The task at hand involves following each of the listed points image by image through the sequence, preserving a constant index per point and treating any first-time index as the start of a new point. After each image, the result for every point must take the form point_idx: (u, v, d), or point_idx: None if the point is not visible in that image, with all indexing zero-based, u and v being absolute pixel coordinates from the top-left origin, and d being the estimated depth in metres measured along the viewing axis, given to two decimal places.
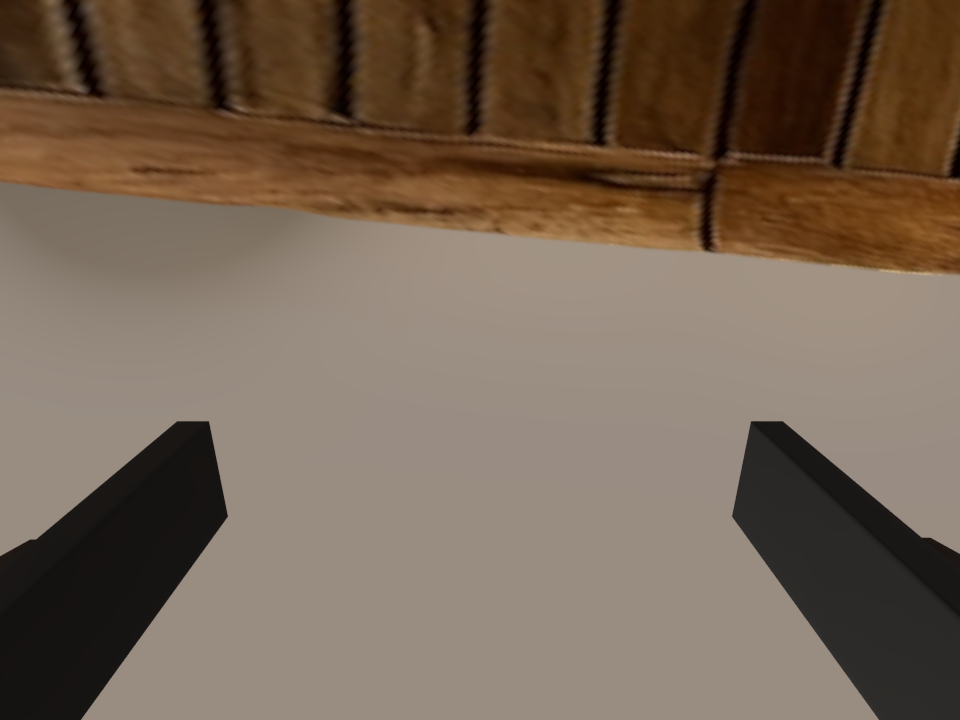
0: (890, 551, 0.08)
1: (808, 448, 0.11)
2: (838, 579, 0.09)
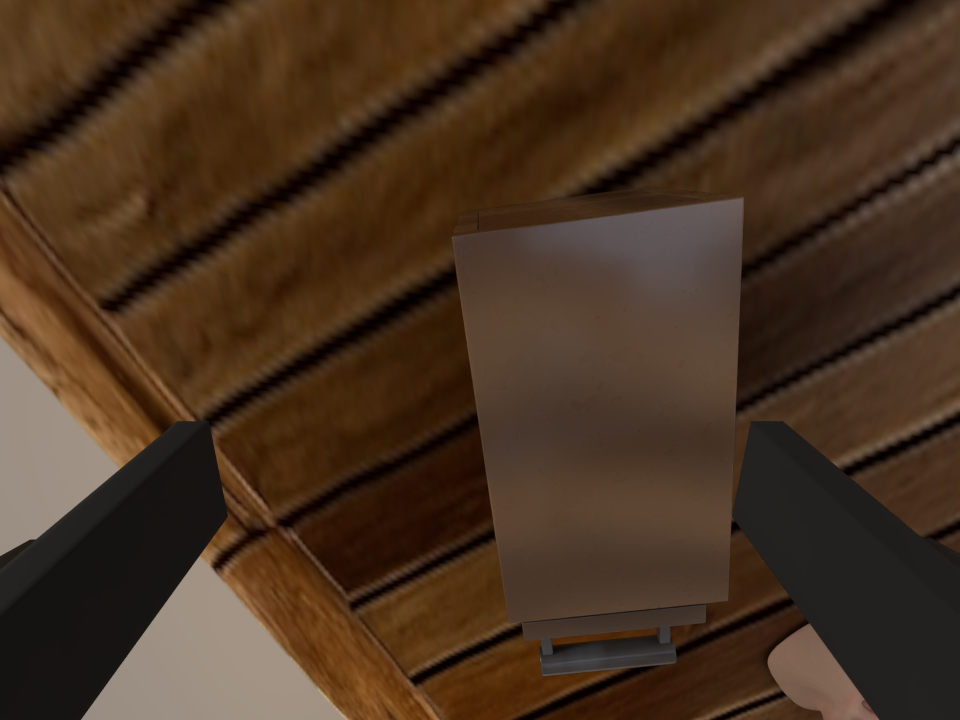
0: (890, 551, 0.08)
1: (808, 448, 0.11)
2: (838, 579, 0.09)
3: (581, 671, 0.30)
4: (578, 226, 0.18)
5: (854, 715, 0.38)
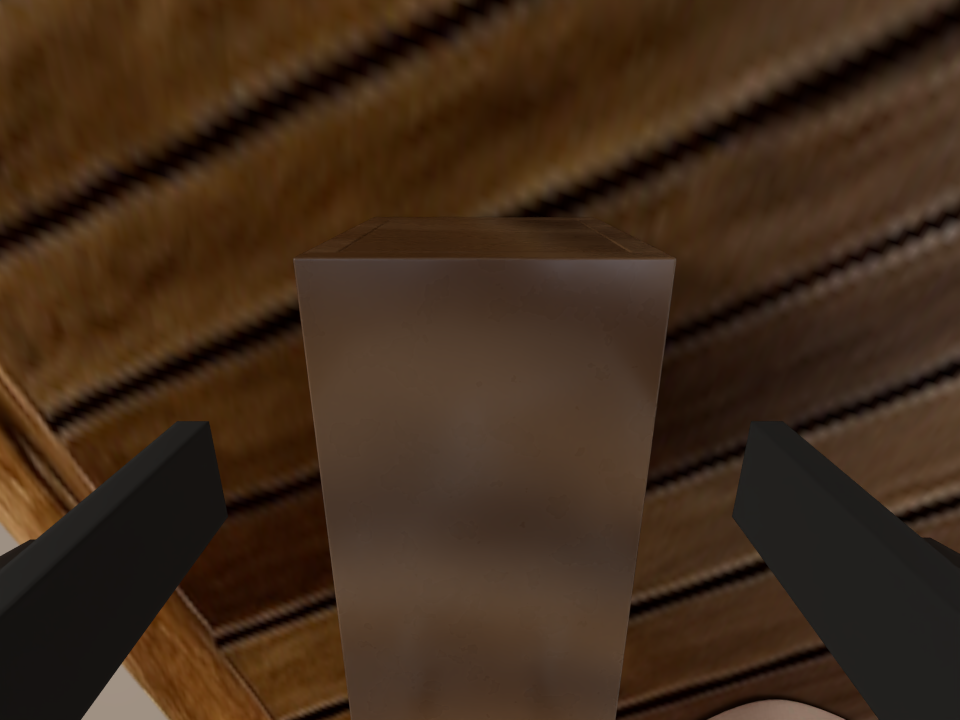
0: (890, 551, 0.08)
1: (808, 448, 0.11)
2: (838, 579, 0.09)
3: None
4: (460, 268, 0.14)
5: None
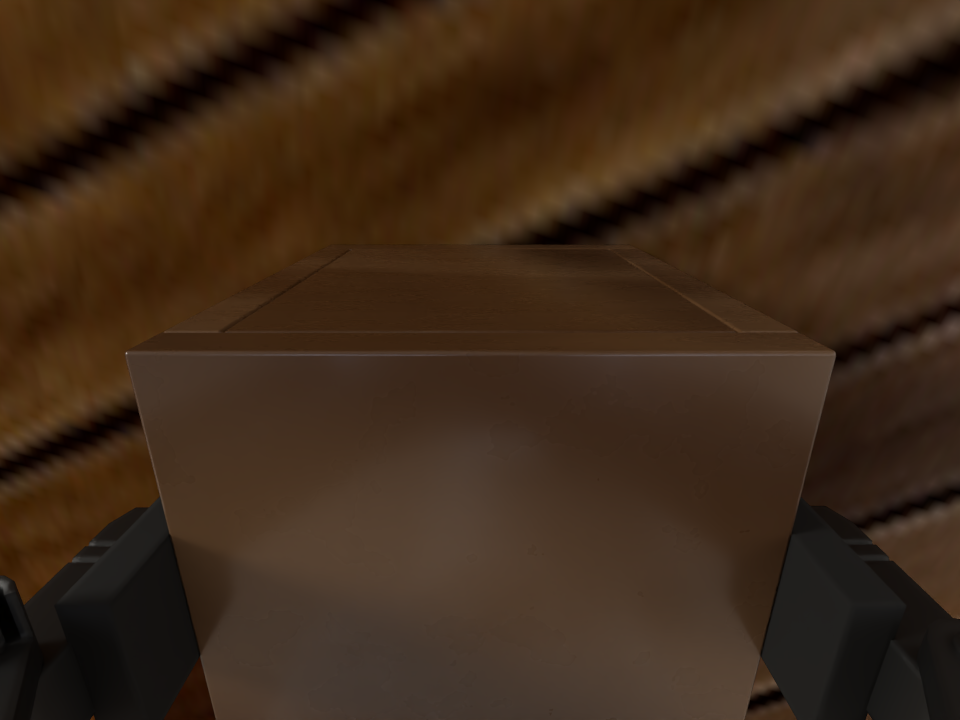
0: None
1: None
2: None
3: None
4: (436, 369, 0.08)
5: None
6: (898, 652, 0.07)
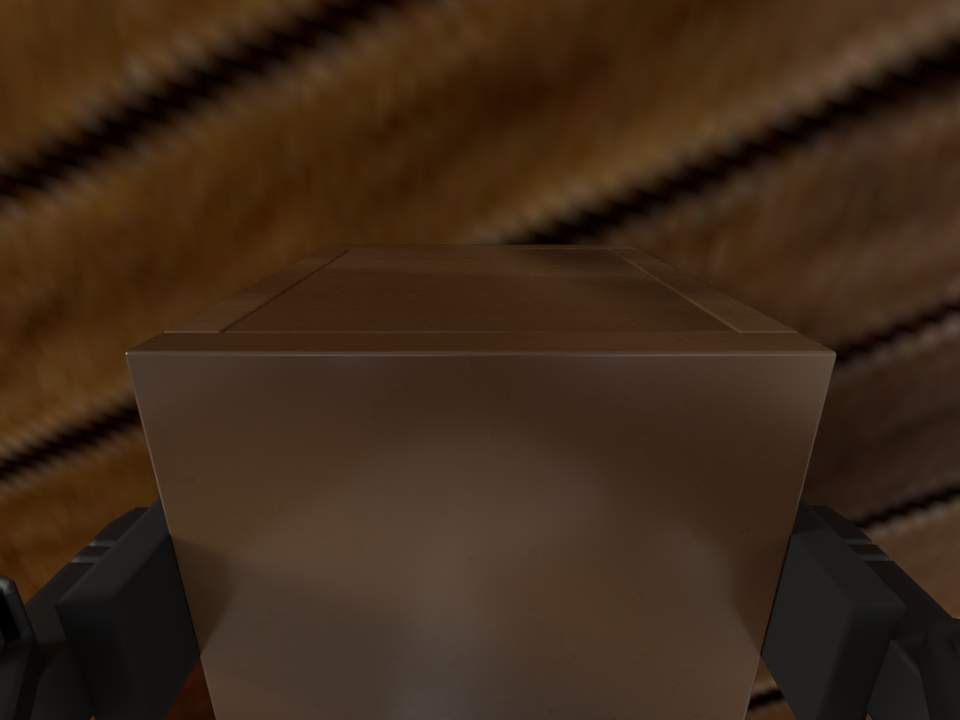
0: None
1: None
2: None
3: None
4: (437, 369, 0.08)
5: None
6: (898, 652, 0.07)
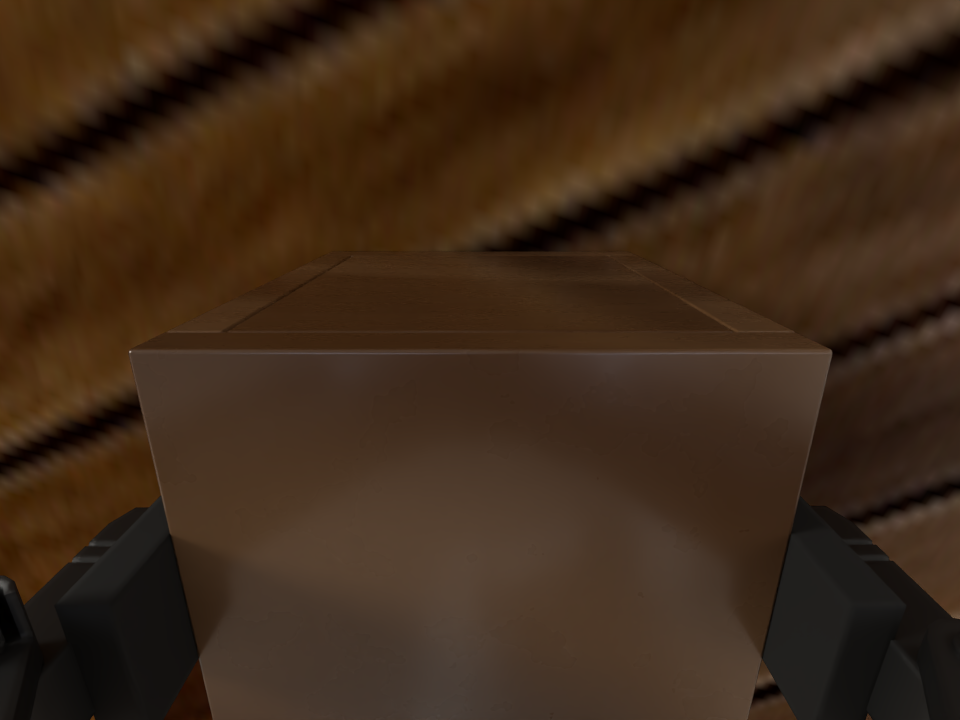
0: None
1: None
2: None
3: None
4: (437, 367, 0.08)
5: None
6: (898, 652, 0.07)
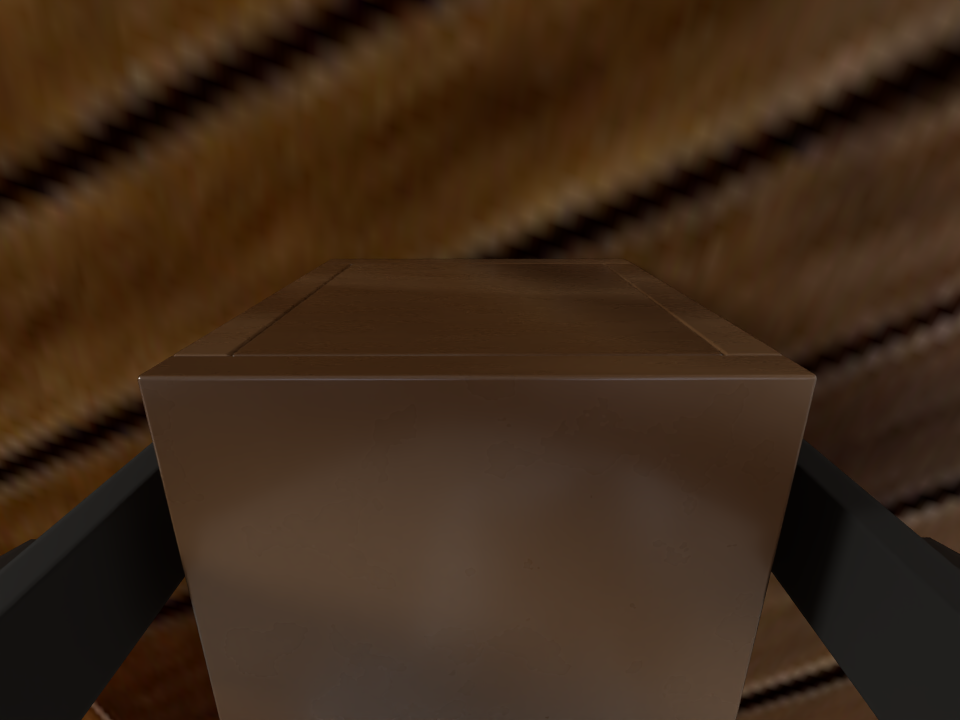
0: (889, 551, 0.08)
1: (807, 448, 0.11)
2: (837, 579, 0.09)
3: None
4: (436, 393, 0.08)
5: None
6: None
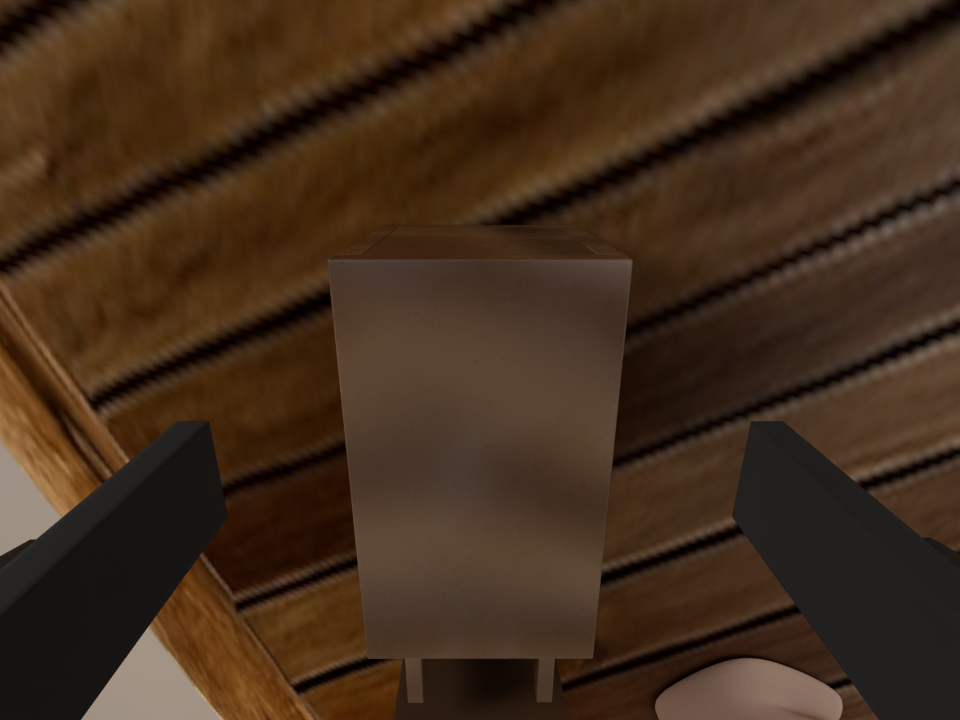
0: (890, 551, 0.08)
1: (808, 448, 0.11)
2: (838, 579, 0.09)
3: None
4: (461, 267, 0.18)
5: None
6: None
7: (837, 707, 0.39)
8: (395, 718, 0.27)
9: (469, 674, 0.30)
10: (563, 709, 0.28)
